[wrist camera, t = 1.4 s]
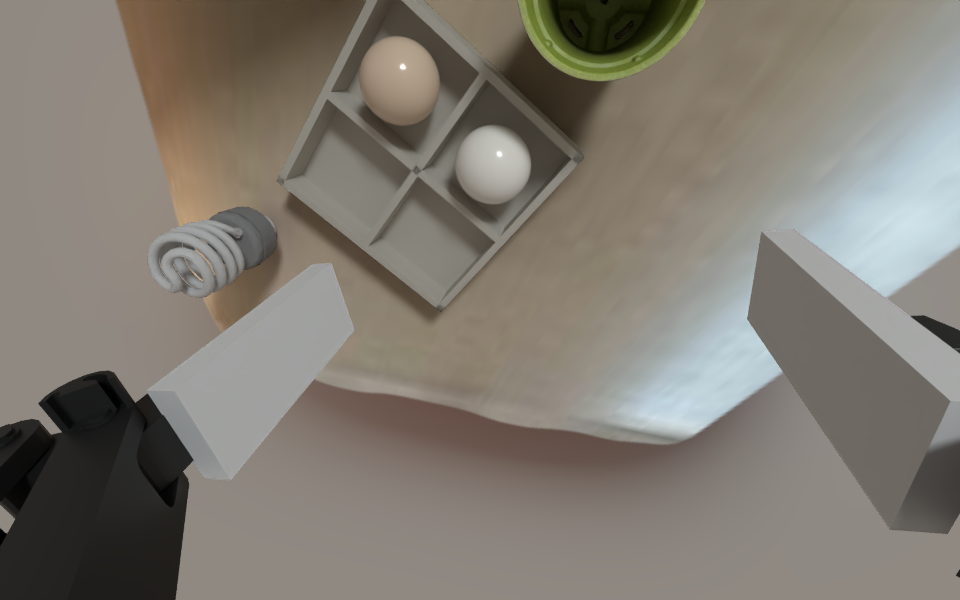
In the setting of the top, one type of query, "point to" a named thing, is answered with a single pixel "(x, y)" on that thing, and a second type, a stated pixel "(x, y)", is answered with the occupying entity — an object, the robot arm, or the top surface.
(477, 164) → the white egg
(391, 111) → the brown egg
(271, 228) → the light bulb
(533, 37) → the plant pot
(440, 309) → the carton
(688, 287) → the top surface
